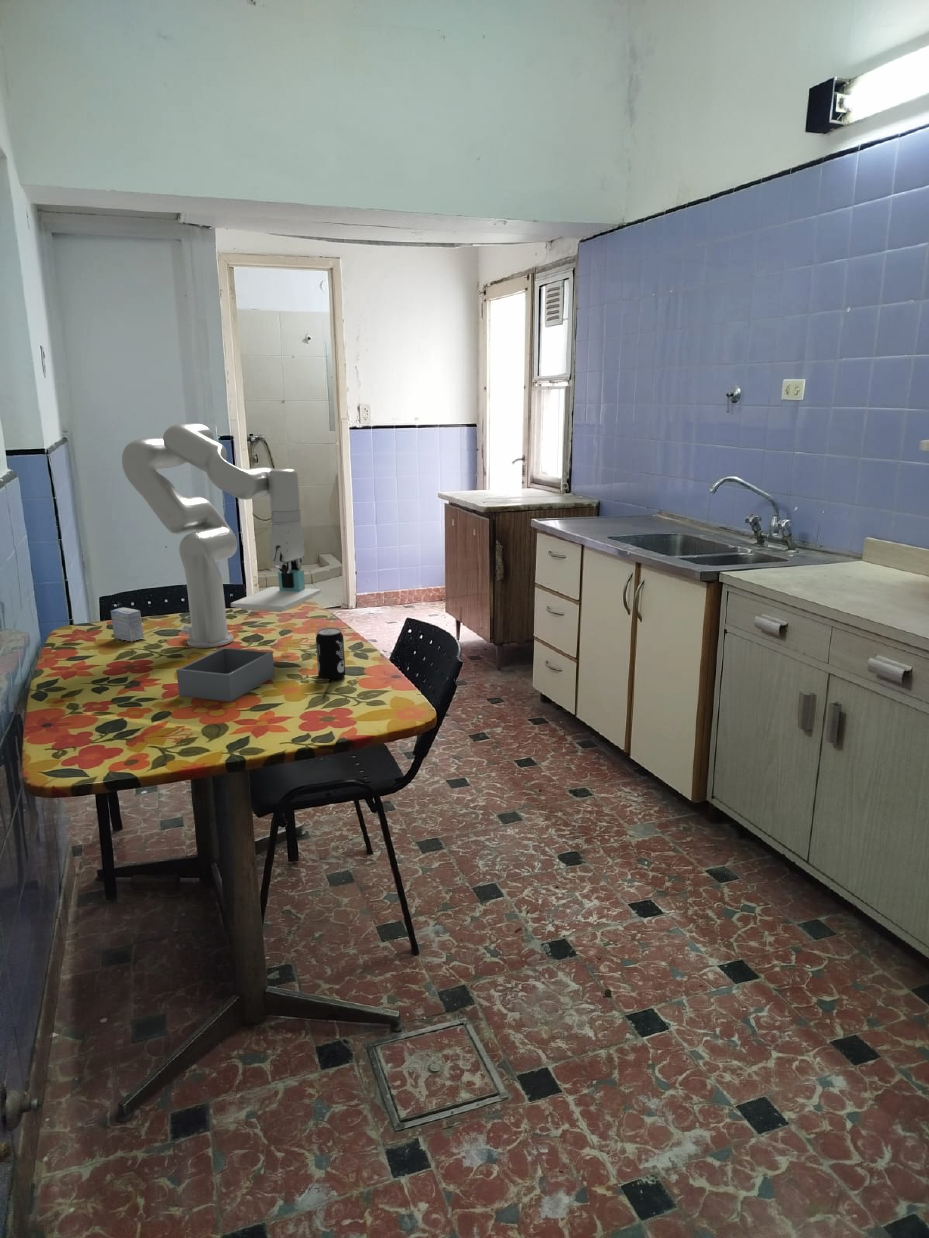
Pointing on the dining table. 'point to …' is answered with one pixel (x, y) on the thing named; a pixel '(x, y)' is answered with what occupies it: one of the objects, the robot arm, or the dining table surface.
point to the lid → (278, 596)
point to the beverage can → (330, 654)
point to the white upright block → (127, 624)
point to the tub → (225, 674)
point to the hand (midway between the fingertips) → (291, 585)
